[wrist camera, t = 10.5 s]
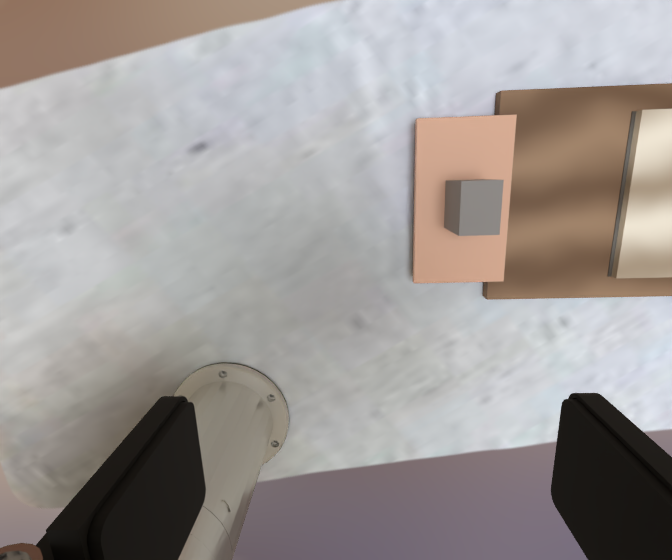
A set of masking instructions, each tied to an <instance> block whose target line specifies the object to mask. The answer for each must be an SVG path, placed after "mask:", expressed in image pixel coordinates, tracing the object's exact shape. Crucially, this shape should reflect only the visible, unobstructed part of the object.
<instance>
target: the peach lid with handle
mask: <svg viewBox="0 0 672 560" xmlns="http://www.w3.org/2000/svg"><path fill="white" fill-rule="evenodd" d="M516 117H517V115H493V116H468V117H443V118H418V119H416V126H415V182H414V238H413V282H414V283H452V282H500V281H504V269H505V257H506V244H507V231H508V219H509V206H510V193H511V181H512V168H513V155H514V143H515V130H516Z"/></svg>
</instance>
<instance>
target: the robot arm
mask: <svg viewBox="0 0 672 560" xmlns="http://www.w3.org/2000/svg"><path fill="white" fill-rule="evenodd" d="M224 371H225V372H224ZM271 394H272V395H271ZM288 425H289V414H288V409H287V405H286V402H285V400H284V398H283V396H282V394H281V392H280V391H279V390H278V388H277V387H276V386H275V385H274V383H272V382H271V381H270V380H269V379H268V378H267V377H266V376H264V375H262V374H261V373H259V372H257V371H256V370H253V369H251V368H248V367H246V366H242V365H237V364H226V363H221V364H214V365H209V366H206V367H204V368H201V369H199V370H197V371H196V372H194V373H192V374H191V375H190V376H189V377H188V378H186V379H185V380H184V381H183V383H182V384H181V385H180V386H179V388H178V389H177V391H176V392H175V394H174V396H164V397H161V398H160V399H159V400H158V401H157V402H156V403H155V404H154V406H153V407H152V408H151V409H150V410H149V411H148V413H147V414H146V415H145V416H144V417H143V418H142V419H141V421H140V422H139V423H138V424H137V425H136V426H135V428H134V429H133V430H132V431H131V432H130V433H129V435H128V436H127V437H126V438H125V439H124V440H123V441H122V443H121V444H120V445H119V446H118V447H117V448H116V450H115V451H114V452H113V453H112V454H111V455H110V456H109V458H108V459H107V460H106V461H105V462H104V463H103V465H102V466H101V467H100V468H99V469H98V470H97V472H96V473H95V474H94V475H93V476H92V477H91V478H90V480H89V481H88V482H87V483H86V484H85V485H84V487H83V488H82V489H81V490H80V491H79V492H78V493H77V495H76V496H75V497H74V498H73V499H72V500H71V502H70V503H69V504H68V505H67V506H66V507H65V509H64V510H63V511H62V512H61V513H60V514H59V515H58V517H57V518H56V519H55V520H54V522H53V523H52V524H51V525H50V526H49V527H48V528H47V530H46V532H47V533H46V534H45V535H44V536H43V538H42V539H41V540H40V541H39V542H38V543H37V545H36V546H35V545H33V544H25V543H19V544H13V545H7V546H5V547H2V548H0V560H232V558H233V555H234V552H235V549H236V546H237V542H238V539H239V536H240V533H241V529H242V526H243V523H244V520H245V517H246V514H247V510H248V507H249V504H250V500H251V498H252V494H253V491H254V487H255V485H256V482H257V478H258V475H259V472H260V469H261V466H262V464H264V463H266V462H268V461H269V460H270V459H271V458H273V457H274V456H275V455H276V453H277V452H278V451H279V450H280V449H281V447H282V445H283V443H284V441H285V438H286V435H287V431H288ZM551 495H552V500H553V502H554V505H555V507H556V508H557V510H558V511H559V513H560V515H561V516H562V518H563V519H564V521H565V523H566V525H567V526H568V528H569V529H570V531H571V533H572V534H573V536H574V538H575V539H576V541H577V542H578V544H579V546H580V547H581V549H582V550H583V552H584V553H585V555H586V557H587V558H588V560H672V457H671V456H670V455H668V454H667V453H666V452H665V451H664V450H663V449H662V448H661V447H659V446H658V445H657V444H656V443H655V442H654V441H653V440H651V439H650V438H649V437H648V436H647V435H646V434H645V433H644V432H642V431H641V430H640V429H639V428H638V427H637V426H636V425H634V424H633V423H632V422H631V421H630V420H629V419H628V418H627V417H625V416H624V415H623V414H622V413H621V412H620V411H619V410H617V409H616V408H615V407H614V406H613V405H612V404H611V403H609V402H608V401H607V400H606V399H605V398H604V397H603V396H601V395H600V394H598V393H573V394H571V395H570V396H569V398H568V399H565V400H564V401H563V402H562V407H561V415H560V422H559V430H558V438H557V446H556V453H555V461H554V470H553V477H552V485H551Z"/></svg>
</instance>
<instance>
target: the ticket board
mask: <svg viewBox="0 0 672 560" xmlns="http://www.w3.org/2000/svg"><path fill="white" fill-rule="evenodd" d="M495 115H517V117H516V130H515V143H514V155H513V168H512V181H511V193H510V206H509V219H508V231H507V244H506V257H505V269H504V281H500V282H484V284H483V296H484V297H485V298H486V299H537V298H590V297H643V296H672V83H671V84H647V85H624V86H601V87H578V88H554V89H531V90H508V91H500V92H498V93H496V101H495Z"/></svg>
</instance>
